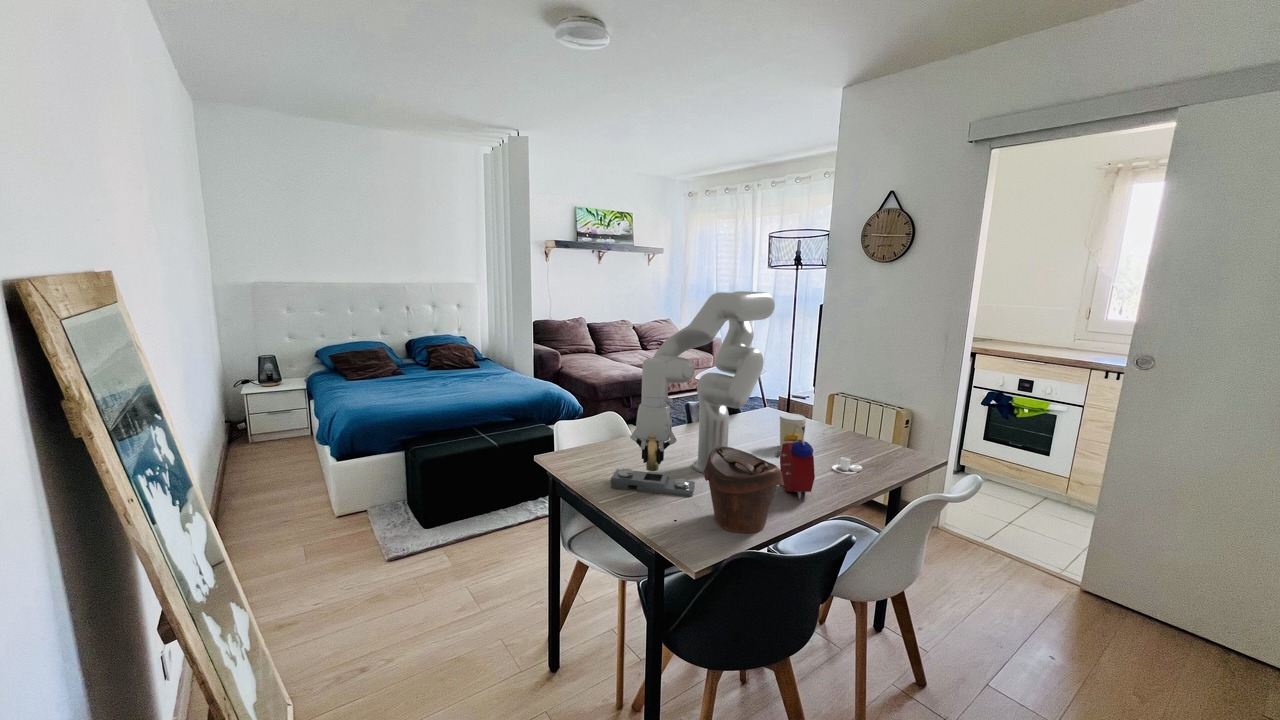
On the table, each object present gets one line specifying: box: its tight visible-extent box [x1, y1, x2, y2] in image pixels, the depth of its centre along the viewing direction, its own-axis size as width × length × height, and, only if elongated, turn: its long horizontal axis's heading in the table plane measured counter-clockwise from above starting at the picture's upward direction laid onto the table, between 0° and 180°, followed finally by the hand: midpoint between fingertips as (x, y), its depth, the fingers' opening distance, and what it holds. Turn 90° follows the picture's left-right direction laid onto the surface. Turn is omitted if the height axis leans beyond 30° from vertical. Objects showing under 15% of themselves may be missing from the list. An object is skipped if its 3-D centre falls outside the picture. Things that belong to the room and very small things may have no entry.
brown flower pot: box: [703, 446, 784, 534], centre depth 129 cm, size 18×20×18 cm
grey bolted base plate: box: [610, 468, 696, 497], centre depth 151 cm, size 24×8×4 cm, turn 78°
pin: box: [645, 435, 660, 472], centre depth 149 cm, size 5×5×11 cm
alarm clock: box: [774, 426, 816, 499], centre depth 149 cm, size 15×9×20 cm, turn 179°
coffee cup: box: [779, 413, 807, 449], centre depth 187 cm, size 9×9×12 cm
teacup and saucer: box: [831, 456, 863, 475], centre depth 168 cm, size 9×8×4 cm
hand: (652, 461), depth 150 cm, fingers closed on pin, 3 cm apart
